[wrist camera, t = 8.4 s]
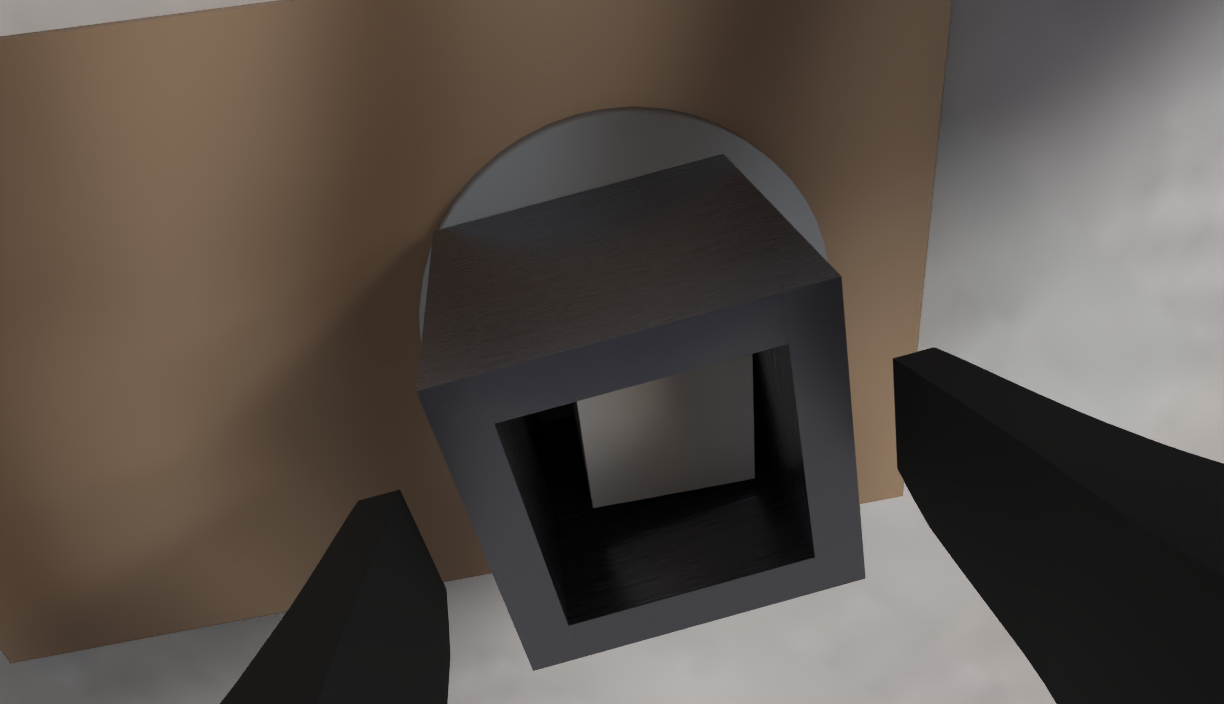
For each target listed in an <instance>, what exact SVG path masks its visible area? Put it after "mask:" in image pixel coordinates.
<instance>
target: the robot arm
mask: <svg viewBox="0 0 1224 704" xmlns="http://www.w3.org/2000/svg"><path fill="white" fill-rule="evenodd" d="M893 380H894V404H895V428H896V452H897V469H898V471H899V473H900V475H901V476H902V478H903V480H904V482H905V484H906V486H907V488H908V489H909V491H910V493H911V495H912V497H913V499H914V501H915V502H916V504H917V506H918V508H919V509H920V511H921V513H922V515H923V516H924V518H925V520H926V521H927V523H928V525H929V527H930V528H931V529H932V531H933V532H934V534H935V535H936V536H937V538H938V539H939V541H940V542H941V543H942V545H943V546H944V547H945V549H946V550H947V551H948V553H949V554H950V555H951V557H952V558H953V560H954V561H955V562H956V564H957V565H958V566H959V568H960V569H961V570H962V572H963V573H964V574H965V576H966V577H967V578H968V580H969V581H970V582H971V584H972V585H973V586H974V588H975V589H976V590H977V592H978V593H979V594H980V596H981V597H982V598H983V600H984V601H985V602H986V604H987V605H988V606H989V608H990V609H991V610H992V612H993V613H994V614H995V616H996V617H997V618H998V620H999V621H1000V622H1001V624H1002V625H1003V626H1004V628H1005V629H1006V630H1007V632H1008V633H1009V634H1010V636H1011V637H1012V638H1013V640H1014V641H1015V642H1016V644H1017V645H1018V646H1019V648H1020V649H1021V650H1022V652H1023V653H1024V654H1025V656H1026V657H1027V659H1028V660H1029V662H1030V663H1031V665H1032V666H1033V668H1034V669H1035V671H1036V672H1037V673H1038V675H1039V676H1040V678H1041V679H1042V681H1043V682H1044V684H1045V685H1046V687H1047V689H1048V690H1049V692H1050V693H1051V695H1052V697H1053V698H1054V700H1055V702H1056V703H1057V704H1224V464H1223V463H1220V462H1216V461H1213V460H1210V459H1207V458H1203V457H1200V456H1197V455H1194V454H1191V453H1187V452H1185V451H1182V450H1179V449H1176V448H1173V447H1170V446H1167V445H1164V444H1161V443H1158V442H1156V441H1153V440H1150V439H1148V438H1145V437H1142V436H1140V435H1137V434H1135V433H1132V432H1129V431H1127V430H1124V429H1121V428H1119V427H1116V426H1113V425H1111V424H1108V423H1106V422H1103V421H1101V420H1098V419H1096V418H1093V417H1091V416H1089V415H1086V414H1084V413H1081V412H1079V411H1076V410H1074V409H1072V408H1069V407H1067V406H1065V405H1062V404H1060V403H1058V402H1055V401H1053V400H1051V399H1049V398H1046V397H1044V396H1042V395H1039V394H1037V393H1035V392H1033V391H1031V390H1028V389H1026V388H1024V387H1022V386H1019V385H1017V384H1015V383H1013V382H1011V381H1009V380H1006V379H1004V378H1002V377H1000V376H998V375H996V374H993V373H991V372H989V371H987V370H985V369H982V368H980V367H978V366H976V365H974V364H972V363H969V362H967V361H965V360H963V359H961V358H958V357H956V356H954V355H951V354H949V353H947V352H944V351H942V350H939V349H937V348H930V349H926V350H922V351H918V352H915V353H911V354H907V355H903V356H900V357H896V358H893ZM449 668H450V640H449V621H448V606H447V592H446V588H445V585H444V583H443V581H442V579H441V577H440V575H439V573H438V570H437V568H436V566H435V564H434V562H433V560H432V557H431V555H430V553H429V551H428V549H427V547H426V544H425V542H424V540H423V538H422V536H421V534H420V532H419V529H418V527H417V525H416V523H415V521H414V519H413V516H412V514H411V512H410V510H409V508H408V506H407V503H406V501H405V499H404V497H403V495H402V493H401V490H396V491H392V492H389V493H385V494H381V495H377V496H374V497H370V498H366V499H362V500H358V502H357V503H356V505H355V506H354V508H353V509H352V511H351V512H350V514H349V515H348V517H347V518H346V520H345V522H344V523H343V525H342V526H341V528H340V530H339V531H338V533H337V534H336V536H335V537H334V539H333V541H332V542H331V544H330V545H329V547H328V549H327V550H326V552H325V553H324V555H323V557H322V558H321V560H320V561H319V563H318V565H317V566H316V568H315V569H314V571H313V572H312V574H311V576H310V577H309V579H308V580H307V582H306V583H305V585H304V586H303V588H302V589H301V591H300V593H299V594H298V596H297V597H296V599H295V600H294V602H293V603H292V605H291V606H290V608H289V609H288V611H287V612H286V614H285V615H284V617H283V618H282V620H281V621H280V623H279V624H278V625H277V627H276V628H275V630H274V631H273V632H272V634H271V635H270V637H269V638H268V639H267V641H266V642H265V644H264V645H263V646H262V648H261V649H260V650H259V652H258V653H257V655H256V656H255V657H254V659H253V660H252V662H251V663H250V664H249V666H248V667H247V669H246V670H245V671H244V673H243V674H242V676H241V677H240V678H239V680H238V681H237V682H236V684H235V685H234V686H233V688H232V689H231V690H230V691H229V693H228V694H227V695H226V697H225V698H224V699H223V700H222V702H221V703H220V704H447V699H448V684H449Z"/></svg>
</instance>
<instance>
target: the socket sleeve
mask: <svg viewBox="0 0 1224 704" xmlns="http://www.w3.org/2000/svg"><path fill="white" fill-rule="evenodd" d="M749 354H752V355H753V406H754V457H755V479H749V480H744V481H738V482H733V483H727V484H722V485H716V486H711V487H706V488H700V489H695V490H689V491H684V492H678V493H673V494H667V495H662V496H656V497H651V498H645V499H640V500H635V501H629V502H624V503H618V504H613V505H607V506H602V507H596V508H593V505H592V500H591V495H590V490H589V485H588V480H587V475H586V470H585V465H584V460H583V455H582V450H581V445H580V440H579V435H578V430H577V425H576V420H575V415H572V416H569V417H565V418H561V419H558V420H554V421H550V422H547V423H543V424H541V421H540V418H539V415H538V412H540V411H543V410H547V409H551V408H554V407H558V406H562V405H566V404H569V403H573V402H577V401H580V400H584V399H588V398H591V397H595V396H599V395H602V394H606V393H610V392H613V391H617V390H621V389H624V388H628V387H632V386H635V385H639V384H643V383H646V382H650V381H654V380H657V379H661V378H665V377H669V376H672V375H676V374H680V373H683V372H687V371H691V370H694V369H698V368H702V367H705V366H709V365H713V364H716V363H720V362H724V361H727V360H731V359H735V358H738V357H742V356H746V355H749ZM416 392H417V394H418V397H419V399H420V402H421V404H422V406H423V409H424V411H425V414H426V416H427V418H428V421H429V423H430V425H431V428H432V430H433V433H434V435H435V437H436V440H437V442H438V445H439V447H440V449H441V452H442V454H443V456H444V459H445V461H446V464H447V466H448V468H449V471H450V473H451V476H452V478H453V480H454V483H455V485H456V487H457V490H458V492H459V495H460V497H461V499H462V502H463V504H464V507H465V509H466V511H467V514H468V516H469V518H470V521H471V523H472V526H473V528H474V530H475V533H476V535H477V538H478V540H479V542H480V545H481V547H482V549H483V552H484V554H485V557H486V559H487V561H488V564H489V566H490V569H491V571H492V573H493V576H494V578H495V581H496V583H497V585H498V588H499V590H500V592H501V595H502V597H503V600H504V602H505V604H506V607H507V609H508V612H509V614H510V616H511V619H512V621H513V623H514V626H515V628H516V631H517V633H518V635H519V638H520V640H521V643H522V645H523V647H524V650H525V652H526V654H527V657H528V659H529V662H530V664H531V666H532V669H533V671H534V670H538V669H542V668H545V667H549V666H552V665H556V664H560V663H563V662H567V661H570V660H574V659H578V658H581V657H585V656H588V655H592V654H595V653H599V652H603V651H606V650H610V649H613V648H617V647H621V646H624V645H628V644H631V643H635V642H639V641H642V640H646V639H649V638H653V637H657V636H660V635H664V634H667V633H671V632H674V631H678V630H682V629H685V628H689V627H692V626H696V625H700V624H703V623H707V622H710V621H714V620H718V619H721V618H725V617H728V616H732V615H736V614H739V613H743V612H746V611H750V610H753V609H757V608H761V607H764V606H768V605H771V604H775V603H779V602H782V601H786V600H789V599H793V598H797V597H800V596H804V595H807V594H811V593H815V592H818V591H822V590H825V589H829V588H832V587H836V586H840V585H843V584H847V583H850V582H854V581H858V580H861V579H865V568H864V555H863V543H862V530H861V517H860V505H859V492H858V479H857V467H856V454H855V441H854V429H853V416H852V403H851V391H850V378H849V365H848V353H847V340H846V327H845V315H844V302H843V289H842V277H841V275H840V274H839V273H838V272H837V271H836V270H835V269H834V268H833V267H832V266H831V265H830V264H829V263H828V262H827V261H826V260H825V259H824V258H823V257H822V256H821V255H820V254H819V253H818V251H817V250H816V249H815V248H814V247H813V246H812V245H811V244H810V243H809V242H808V241H807V240H806V239H805V238H804V237H803V236H802V235H801V234H800V233H799V232H798V231H797V230H796V229H795V228H794V227H793V225H792V224H791V223H790V222H789V221H788V220H787V219H786V218H785V217H784V216H783V215H782V214H781V213H780V212H779V211H778V210H777V209H776V208H775V207H774V206H773V205H772V204H771V203H770V202H769V201H768V199H767V198H766V197H765V196H764V195H763V194H762V193H761V192H760V191H759V190H758V189H757V188H756V187H755V186H754V185H753V184H752V183H751V182H750V181H749V180H748V179H747V178H746V177H745V176H744V175H743V173H742V172H741V171H740V170H739V169H738V168H737V167H736V166H735V165H734V164H733V163H732V162H731V161H730V160H729V159H728V158H727V157H726V156H725V155H724V154H721V155H717V156H713V157H710V158H706V159H702V160H698V161H695V162H691V163H687V164H683V165H680V166H676V167H672V168H668V169H665V170H661V171H657V172H653V173H650V174H646V175H642V176H638V177H635V178H631V179H627V180H623V181H620V182H616V183H612V184H608V185H605V186H601V187H597V188H593V189H590V190H586V191H582V192H578V193H575V194H571V195H567V196H563V197H560V198H556V199H552V200H548V201H545V202H541V203H537V204H533V205H530V206H526V207H522V208H518V209H515V210H511V211H507V212H503V213H499V214H496V215H492V216H488V217H484V218H481V219H477V220H473V221H469V222H466V223H462V224H458V225H454V226H451V227H447V228H443V229H439V230H436V231H433V239H432V249H431V258H430V267H429V277H428V286H427V295H426V305H425V314H424V323H423V333H422V342H421V351H420V361H419V370H418V380H417V389H416Z"/></svg>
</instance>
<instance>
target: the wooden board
mask: <svg viewBox="0 0 1224 704" xmlns="http://www.w3.org/2000/svg"><path fill="white" fill-rule="evenodd" d="M951 6H952V0H280V1H272V2H264V3H257V4H249V5H241V6H234V7H226V8H218V9H210V10H203V11H195V12H187V13H179V14H172V15H164V16H156V17H148V18H141V19H133V20H125V21H117V22H110V23H102V24H94V25H86V26H79V27H71V28H63V29H55V30H48V31H40V32H32V33H24V34H17V35H9V36H1V37H0V649H1V651H2V652H3V654H4V655H5V656H6V658H7V659H8V661H9V662H10V663H15V662H20V661H25V660H31V659H36V658H41V657H47V656H52V655H57V654H63V653H68V652H73V651H79V650H84V649H89V648H95V647H100V646H105V645H111V644H116V643H121V642H127V641H132V640H137V639H143V638H148V637H153V636H159V635H164V634H169V633H175V632H180V631H185V630H191V629H196V628H201V627H207V626H212V625H217V624H223V623H228V622H233V621H239V620H244V619H249V618H255V617H260V616H265V615H271V614H276V613H281V612H287V611H288V609H289V608H290V606H291V605H292V603H293V602H294V600H295V599H296V597H297V596H298V594H299V593H300V591H301V589H302V588H303V586H304V585H305V583H306V582H307V580H308V579H309V577H310V576H311V574H312V572H313V571H314V569H315V568H316V566H317V565H318V563H319V561H320V560H321V558H322V557H323V555H324V553H325V552H326V550H327V549H328V547H329V545H330V544H331V542H332V541H333V539H334V537H335V536H336V534H337V533H338V531H339V530H340V528H341V526H342V525H343V523H344V522H345V520H346V518H347V517H348V515H349V514H350V512H351V511H352V509H353V508H354V506H355V505H356V503H357V502H358V500H362V499H366V498H370V497H374V496H377V495H381V494H385V493H389V492H392V491H396V490H401V493H402V495H403V497H404V499H405V501H406V503H407V506H408V508H409V510H410V512H411V514H412V516H413V519H414V521H415V523H416V525H417V527H418V529H419V532H420V534H421V536H422V538H423V540H424V542H425V544H426V547H427V549H428V551H429V553H430V555H431V557H432V560H433V562H434V564H435V566H436V568H437V570H438V573H439V575H440V577H441V579H442V581H443V582H446V581H452V580H457V579H462V578H468V577H473V576H478V575H484V574H489V573H492V571H491V569H490V566H489V564H488V561H487V559H486V557H485V554H484V552H483V549H482V547H481V545H480V542H479V540H478V538H477V535H476V533H475V530H474V528H473V526H472V523H471V521H470V518H469V516H468V514H467V511H466V509H465V507H464V504H463V502H462V499H461V497H460V495H459V492H458V490H457V487H456V485H455V483H454V480H453V478H452V476H451V473H450V471H449V468H448V466H447V464H446V461H445V459H444V456H443V454H442V452H441V449H440V447H439V445H438V442H437V440H436V437H435V435H434V433H433V430H432V428H431V425H430V423H429V421H428V418H427V416H426V414H425V411H424V409H423V406H422V404H421V402H420V399H419V397H418V394H417V392H416V389H417V380H418V370H419V361H420V351H421V342H422V333H423V323H424V314H425V305H426V295H427V286H428V277H429V267H430V258H431V249H432V239H433V231H436V230H439V229H443V228H447V227H451V226H454V225H458V224H462V223H466V222H469V221H473V220H477V219H481V218H484V217H488V216H492V215H496V214H499V213H503V212H507V211H511V210H515V209H518V208H522V207H526V206H530V205H533V204H537V203H541V202H545V201H548V200H552V199H556V198H560V197H563V196H567V195H571V194H575V193H578V192H582V191H586V190H590V189H593V188H597V187H601V186H605V185H608V184H612V183H616V182H620V181H623V180H627V179H631V178H635V177H638V176H642V175H646V174H650V173H653V172H657V171H661V170H665V169H668V168H672V167H676V166H680V165H683V164H687V163H691V162H695V161H698V160H702V159H706V158H710V157H713V156H717V155H721V154H724V155H725V156H726V157H727V158H728V159H729V160H730V161H731V162H732V163H733V164H734V165H735V166H736V167H737V168H738V169H739V170H740V171H741V172H742V173H743V175H744V176H745V177H746V178H747V179H748V180H749V181H750V182H751V183H752V184H753V185H754V186H755V187H756V188H757V189H758V190H759V191H760V192H761V193H762V194H763V195H764V196H765V197H766V198H767V199H768V201H769V202H770V203H771V204H772V205H773V206H774V207H775V208H776V209H777V210H778V211H779V212H780V213H781V214H782V215H783V216H784V217H785V218H786V219H787V220H788V221H789V222H790V223H791V224H792V225H793V227H794V228H795V229H796V230H797V231H798V232H799V233H800V234H801V235H802V236H803V237H804V238H805V239H806V240H807V241H808V242H809V243H810V244H811V245H812V246H813V247H814V248H815V249H816V250H817V251H818V253H819V254H820V255H821V256H822V257H823V258H824V259H825V260H826V261H827V262H828V263H829V264H830V265H831V266H832V267H833V268H834V269H835V270H836V271H837V272H838V273H839V274H840V275H841V277H842V289H843V302H844V315H845V327H846V340H847V353H848V365H849V378H850V391H851V403H852V416H853V429H854V441H855V454H856V467H857V479H858V492H859V504H862V503H868V502H873V501H878V500H884V499H889V498H894V497H900V496H903V488H904V480H903V478H902V476H901V475H900V473H899V471H898V469H897V452H896V428H895V404H894V380H893V358H896V357H900V356H903V355H907V354H911V353H915V352H917V347H918V337H919V327H920V317H921V307H922V297H923V287H924V277H925V267H926V257H927V247H928V237H929V227H930V217H931V207H932V197H933V187H934V177H935V167H936V156H937V146H938V136H939V126H940V116H941V106H942V96H943V86H944V76H945V66H946V56H947V46H948V36H949V26H950V16H951ZM538 415H539V418H540V421H541V424H543V423H547V422H550V421H554V420H558V419H561V418H565V417H569V416H572V415H575V420H576V425H577V430H578V435H579V440H580V445H581V450H582V455H583V460H584V465H585V470H586V475H587V480H588V485H589V490H590V495H591V500H592V505H593V508H596V507H602V506H607V505H613V504H618V503H624V502H629V501H635V500H640V499H645V498H651V497H656V496H662V495H667V494H673V493H678V492H684V491H689V490H695V489H700V488H706V487H711V486H716V485H722V484H727V483H733V482H738V481H744V480H749V479H755V457H754V406H753V355H752V354H749V355H746V356H742V357H738V358H735V359H731V360H727V361H724V362H720V363H716V364H713V365H709V366H705V367H702V368H698V369H694V370H691V371H687V372H683V373H680V374H676V375H672V376H669V377H665V378H661V379H657V380H654V381H650V382H646V383H643V384H639V385H635V386H632V387H628V388H624V389H621V390H617V391H613V392H610V393H606V394H602V395H599V396H595V397H591V398H588V399H584V400H580V401H577V402H573V403H569V404H566V405H562V406H558V407H554V408H551V409H547V410H543V411H540V412H538Z"/></svg>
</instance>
